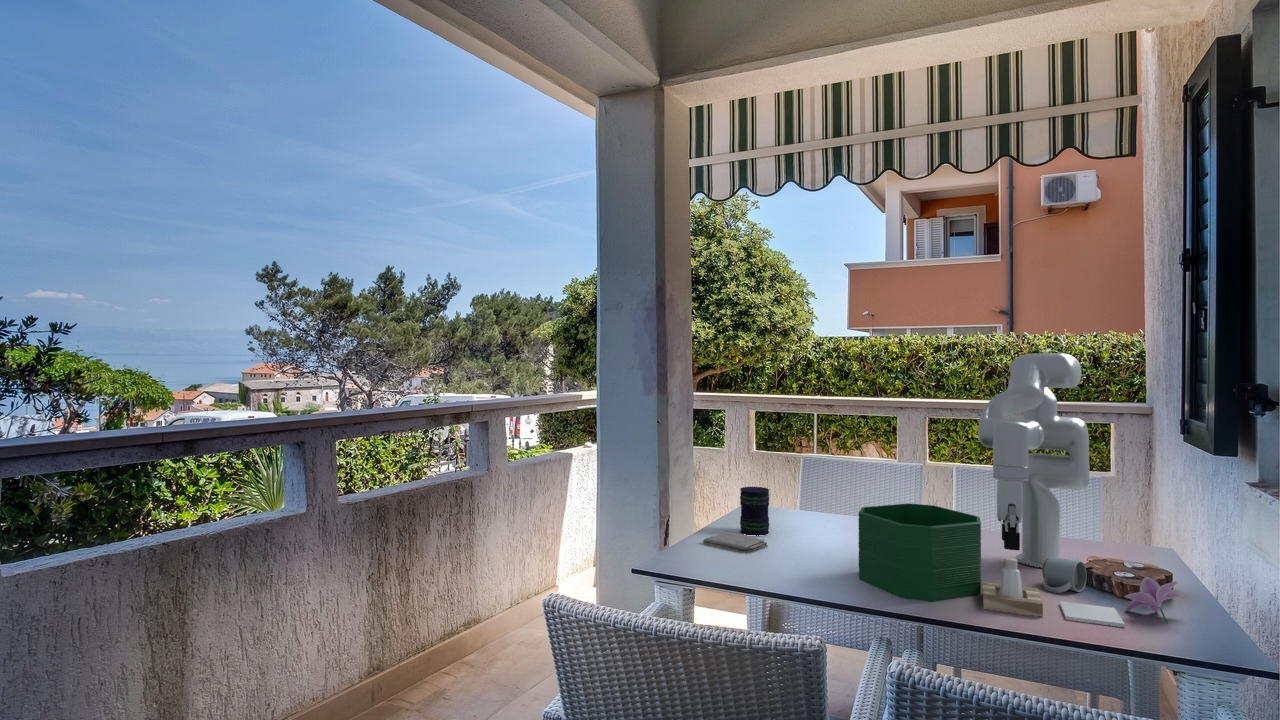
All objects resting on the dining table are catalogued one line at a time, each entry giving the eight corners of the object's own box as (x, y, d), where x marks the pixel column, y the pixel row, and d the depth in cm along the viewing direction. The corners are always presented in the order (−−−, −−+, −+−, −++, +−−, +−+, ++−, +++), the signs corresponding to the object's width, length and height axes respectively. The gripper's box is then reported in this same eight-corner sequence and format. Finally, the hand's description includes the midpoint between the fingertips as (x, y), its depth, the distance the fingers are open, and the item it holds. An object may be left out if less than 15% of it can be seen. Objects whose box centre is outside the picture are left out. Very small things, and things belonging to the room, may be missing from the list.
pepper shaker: (1024, 603, 165) (1024, 557, 165) (1023, 610, 160) (1023, 563, 161) (999, 599, 168) (998, 554, 168) (997, 606, 163) (997, 559, 163)
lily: (1193, 623, 156) (1174, 580, 160) (1199, 617, 147) (1178, 571, 151) (1132, 631, 160) (1115, 589, 165) (1134, 626, 152) (1116, 581, 156)
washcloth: (749, 556, 209) (749, 545, 209) (701, 545, 221) (701, 536, 221) (769, 548, 218) (769, 538, 218) (722, 538, 229) (722, 529, 230)
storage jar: (757, 537, 229) (757, 492, 229) (734, 532, 236) (734, 488, 236) (775, 533, 236) (775, 489, 236) (752, 528, 243) (752, 485, 243)
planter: (846, 574, 189) (846, 507, 189) (921, 565, 198) (921, 501, 198) (915, 605, 165) (914, 528, 165) (997, 592, 174) (996, 520, 174)
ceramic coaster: (1059, 604, 165) (1059, 601, 165) (1114, 611, 160) (1114, 608, 160) (1065, 619, 155) (1065, 616, 155) (1124, 627, 150) (1124, 623, 150)
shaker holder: (982, 594, 172) (982, 582, 172) (1037, 601, 167) (1037, 588, 167) (983, 609, 161) (983, 596, 161) (1042, 617, 156) (1042, 603, 156)
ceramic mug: (1053, 581, 183) (1053, 552, 183) (1087, 589, 176) (1087, 559, 176) (1034, 589, 177) (1034, 559, 177) (1069, 597, 170) (1069, 566, 170)
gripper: (991, 467, 174) (991, 536, 173) (994, 476, 158) (994, 551, 158) (1025, 470, 171) (1025, 539, 170) (1031, 478, 155) (1031, 555, 155)
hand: (1010, 545), depth 164 cm, fingers open, 9 cm apart
